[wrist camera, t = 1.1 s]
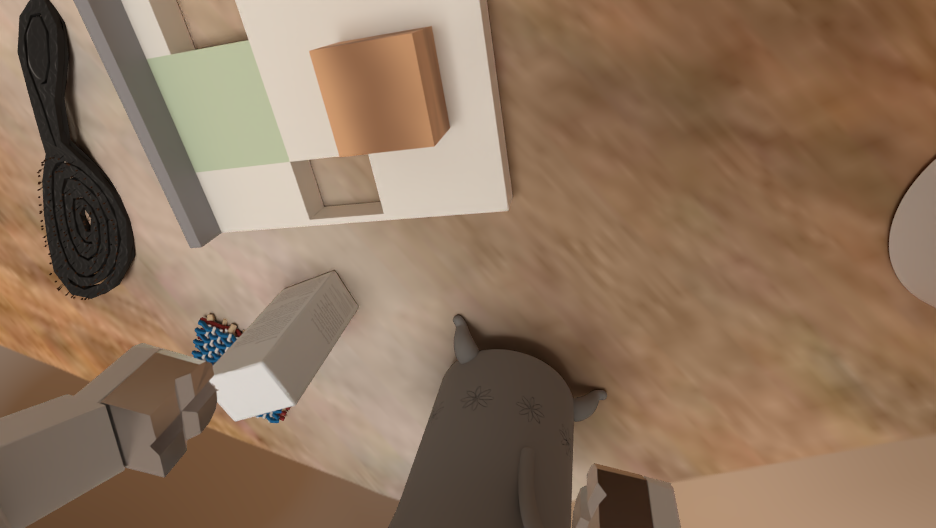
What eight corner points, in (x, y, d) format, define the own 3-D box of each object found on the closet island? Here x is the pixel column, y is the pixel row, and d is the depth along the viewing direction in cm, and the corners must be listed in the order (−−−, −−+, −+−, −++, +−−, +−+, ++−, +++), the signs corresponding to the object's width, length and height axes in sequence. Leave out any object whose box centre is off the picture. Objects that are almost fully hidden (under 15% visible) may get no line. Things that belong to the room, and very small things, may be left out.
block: (431, 25, 30) (411, 33, 26) (450, 128, 32) (434, 146, 29) (338, 42, 31) (308, 51, 28) (364, 138, 34) (339, 157, 31)
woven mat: (289, 416, 55) (279, 431, 53) (197, 376, 54) (185, 389, 53) (309, 351, 49) (299, 365, 47) (208, 306, 49) (194, 318, 47)
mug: (534, 469, 50) (498, 831, 29) (401, 402, 50) (265, 727, 28) (650, 345, 41) (724, 755, 19) (488, 259, 40) (378, 593, 18)
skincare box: (309, 325, 47) (232, 423, 37) (282, 287, 45) (195, 380, 35) (362, 307, 45) (296, 408, 34) (336, 268, 43) (259, 360, 33)
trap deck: (473, -105, 28) (453, -118, 24) (512, 196, 37) (503, 226, 32) (127, -23, 34) (63, -22, 30) (229, 220, 43) (190, 248, 38)
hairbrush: (66, 12, 34) (113, 314, 46) (110, 11, 37) (143, 294, 49) (-46, -18, 34) (30, 289, 46) (8, -16, 38) (65, 270, 50)
